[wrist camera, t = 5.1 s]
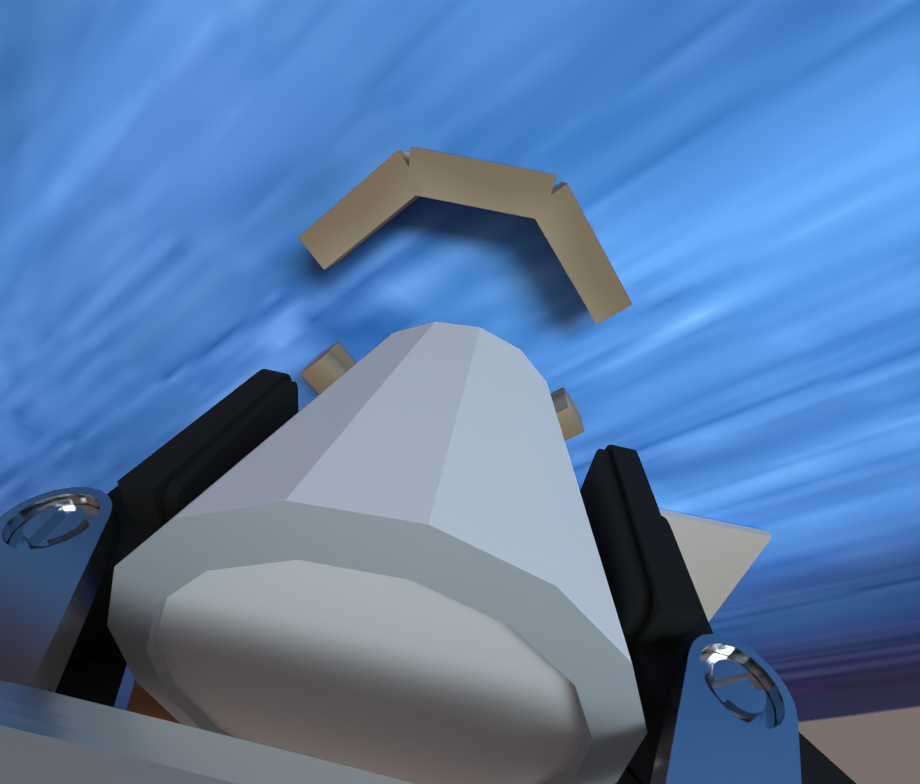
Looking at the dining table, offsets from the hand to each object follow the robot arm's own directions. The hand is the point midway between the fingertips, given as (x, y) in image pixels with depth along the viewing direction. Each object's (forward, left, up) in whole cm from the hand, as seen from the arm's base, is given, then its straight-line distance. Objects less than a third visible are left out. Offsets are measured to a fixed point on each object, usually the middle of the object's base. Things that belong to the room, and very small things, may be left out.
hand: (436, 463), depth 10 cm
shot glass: (0, 0, -2) cm, 2 cm away
